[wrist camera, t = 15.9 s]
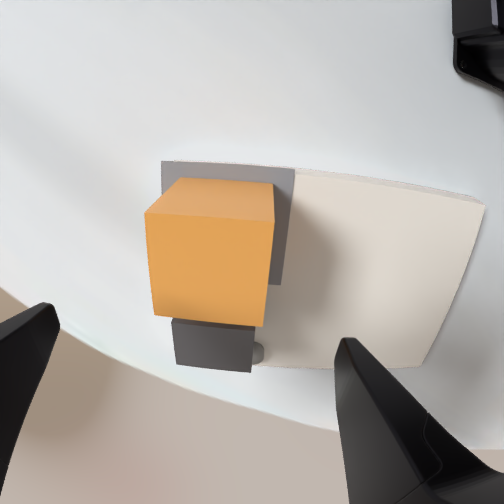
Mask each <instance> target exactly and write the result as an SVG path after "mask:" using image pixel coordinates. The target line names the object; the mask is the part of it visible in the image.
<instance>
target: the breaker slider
mask: <svg viewBox="0 0 504 504" xmlns="http://www.w3.org/2000/svg"><path fill="white" fill-rule="evenodd" d="M171 324H172V333H173V342H174V350H175V357H176V364H178V365H185V366H192V367H200V368H208V369H217V370H227V371H237V372H249V373H251V367H252V358H253V348H254V338H255V326H247V325H236V324H225V323H216V322H206V321H197V320H189V319H181V318H173V319H172V322H171Z"/></svg>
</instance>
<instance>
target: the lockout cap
mask: <svg viewBox="0 0 504 504" xmlns="http://www.w3.org/2000/svg"><path fill="white" fill-rule="evenodd" d="M144 214H145V229H146V242H147V254H148V265H149V275H150V284H151V292H152V301H153V308H154V315H158V316H165V317H173V318H181V319H189V320H197V321H206V322H216V323H225V324H236V325H247V326H258V327H263V320H264V311H265V303H266V295H267V286H268V277H269V269H270V260H271V251H272V242H273V233H274V224H275V219H274V196H273V184H272V183H261V182H249V181H236V180H221V179H205V178H186V177H180V178H179V179H178V180H177V181H176V182H175V183H174V184H173V185H172V186H171V187H170V188H169V189H168V190H167V191H166V192H165V193H164V194H163V195H162V196H161V197H160V198H159V199H158V200H157V201H156V202H155V203H154V204H153V205H152V206H151V207H150V208H149V209H148V210H147V211H146V212H145V213H144Z"/></svg>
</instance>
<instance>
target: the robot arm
mask: <svg viewBox="0 0 504 504" xmlns="http://www.w3.org/2000/svg"><path fill="white" fill-rule="evenodd" d="M452 34H453V36H454V49H453V66H454V68H455V69H456V71H457V72H459V73H461V74H464V75H466V76H469V77H471V78H473V79H476V80H478V81H480V82H483V83H485V84H487V85H489V86H491V87H493V88H495V89H497V90H500V91H502V92H504V0H452ZM460 61H461V62H462V63H463V68H462V67H461V66H460ZM59 330H60V322H59V319H58V317H57V314H56V310H55V308H54V306H53V305H52V304H50V303H45V302H42V303H39V304H37V305H35V306H33V307H31V308H29V309H27V310H25V311H23V312H22V313H19V314H17V315H16V316H13V317H12V318H10V319H8V320H6V321H4V322H2V323H0V495H1V491H2V487H3V484H4V480H5V476H6V473H7V470H8V465H9V463H10V459H11V456H12V453H13V450H14V447H15V444H16V441H17V438H18V436H19V433H20V430H21V427H22V425H23V422H24V419H25V417H26V414H27V411H28V409H29V406H30V404H31V402H32V399H33V397H34V394H35V392H36V389H37V387H38V385H39V382H40V380H41V378H42V376H43V374H44V371H45V369H46V366H47V364H48V361H49V358H50V355H51V352H52V349H53V347H54V344H55V341H56V339H57V336H58V333H59ZM334 374H335V395H336V411H337V418H338V424H339V431H340V437H341V444H342V451H343V458H344V465H345V472H346V480H347V488H348V496H349V504H504V473H501V472H498V471H496V470H493V469H492V468H490V467H489V466H487V465H486V464H485V463H483V462H482V461H481V460H480V459H478V457H476V456H475V455H474V454H473V453H472V452H470V451H469V450H468V449H467V448H466V447H464V446H463V445H462V444H461V443H460V442H459V441H457V440H456V439H455V438H454V437H453V436H452V435H451V434H450V433H448V432H447V431H446V430H445V429H444V428H443V427H442V426H441V425H440V424H439V423H438V422H437V421H436V420H435V419H434V418H433V417H432V415H431V414H430V413H427V410H426V409H425V408H424V407H423V406H422V405H421V404H420V403H419V402H418V401H417V400H416V399H415V398H414V397H413V396H412V395H411V394H410V393H409V392H408V391H407V390H406V389H405V388H404V387H403V386H402V384H401V383H400V382H399V381H398V380H397V379H396V378H395V377H394V376H393V375H392V374H391V373H390V372H389V371H388V370H387V369H386V368H385V367H384V366H383V365H382V364H381V363H380V362H379V361H378V360H377V359H376V358H375V357H374V356H373V355H372V354H371V353H370V352H369V351H368V350H367V349H366V348H365V347H364V346H363V344H362V343H361V342H360V341H359V340H358V339H356V338H354V337H343V338H341V340H340V343H339V346H338V349H337V352H336V355H335V358H334Z"/></svg>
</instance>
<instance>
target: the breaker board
mask: <svg viewBox="0 0 504 504" xmlns="http://www.w3.org/2000/svg"><path fill="white" fill-rule="evenodd" d="M180 177H186V178H205V179H221V180H236V181H249V182H261V183H272V184H273V196H274V219H275V224H274V233H273V242H272V251H271V260H270V269H269V277H268V286H267V295H266V303H265V311H264V320H263V327H258V326H255V338H254V348H253V358H252V365H255V366H269V367H286V368H310V369H334V358H335V355H336V352H337V349H338V346H339V343H340V340H341V338H343V337H354V338H356V339H358V340H359V341H360V342H361V343H362V344H363V346H364V347H365V348H366V349H367V350H368V351H369V352H370V353H371V354H372V355H373V356H374V357H375V358H376V359H377V360H378V361H379V362H380V363H381V364H382V365H383V366H384V367H385V368H409V367H420V366H421V364H422V362H423V361H424V359H425V357H426V355H427V353H428V351H429V349H430V347H431V346H432V344H433V342H434V340H435V338H436V336H437V334H438V332H439V330H440V327H441V325H442V323H443V321H444V319H445V317H446V315H447V312H448V310H449V308H450V306H451V303H452V301H453V299H454V296H455V294H456V292H457V289H458V287H459V284H460V282H461V279H462V277H463V274H464V271H465V269H466V266H467V263H468V261H469V258H470V255H471V252H472V249H473V246H474V243H475V240H476V237H477V234H478V231H479V228H480V224H481V221H482V217H483V214H484V210H485V207H486V205H485V204H483V203H482V202H480V201H478V200H477V199H475V198H474V197H470V196H466V195H462V194H457V193H453V192H448V191H443V190H438V189H433V188H428V187H423V186H418V185H412V184H407V183H401V182H396V181H390V180H384V179H377V178H371V177H364V176H357V175H350V174H343V173H335V172H328V171H319V170H311V169H302V168H292V167H282V166H270V165H258V164H245V163H230V162H211V161H187V160H174V161H161V185H162V195H163V194H164V193H165V192H166V191H167V190H168V189H169V188H170V187H171V186H172V185H173V184H174V183H175V182H176V181H177V180H178V179H179V178H180Z"/></svg>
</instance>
